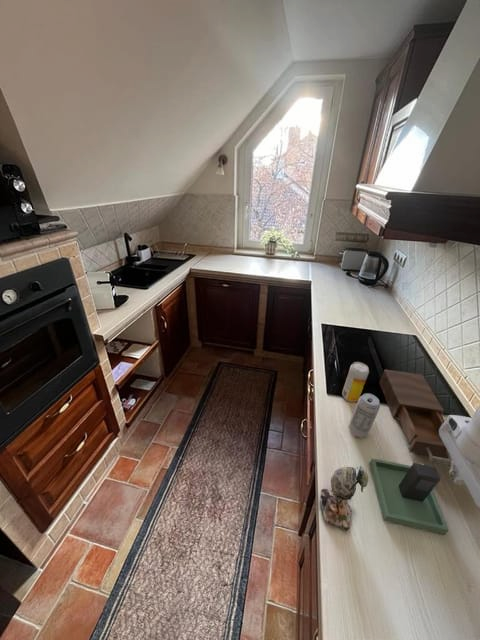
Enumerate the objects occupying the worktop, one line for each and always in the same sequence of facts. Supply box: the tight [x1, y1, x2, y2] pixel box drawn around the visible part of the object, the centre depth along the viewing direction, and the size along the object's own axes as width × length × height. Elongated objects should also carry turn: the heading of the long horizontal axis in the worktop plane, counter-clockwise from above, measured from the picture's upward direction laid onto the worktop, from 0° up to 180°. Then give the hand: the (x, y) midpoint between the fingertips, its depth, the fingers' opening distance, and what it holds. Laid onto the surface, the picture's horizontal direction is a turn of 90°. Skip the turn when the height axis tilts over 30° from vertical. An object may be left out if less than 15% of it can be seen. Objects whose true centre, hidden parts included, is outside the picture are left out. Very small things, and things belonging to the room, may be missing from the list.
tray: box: [369, 458, 449, 535], centre depth 67 cm, size 14×15×2 cm
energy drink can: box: [348, 392, 381, 438], centre depth 80 cm, size 6×6×15 cm
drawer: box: [397, 406, 452, 467], centre depth 80 cm, size 21×12×5 cm, turn 169°
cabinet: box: [378, 369, 445, 420], centre depth 93 cm, size 18×14×7 cm
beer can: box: [341, 361, 370, 403], centre depth 93 cm, size 6×6×15 cm
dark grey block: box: [399, 462, 442, 502], centre depth 65 cm, size 5×3×11 cm, turn 79°
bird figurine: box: [319, 465, 369, 532], centre depth 60 cm, size 8×11×20 cm
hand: (454, 478), depth 66 cm, fingers closed
